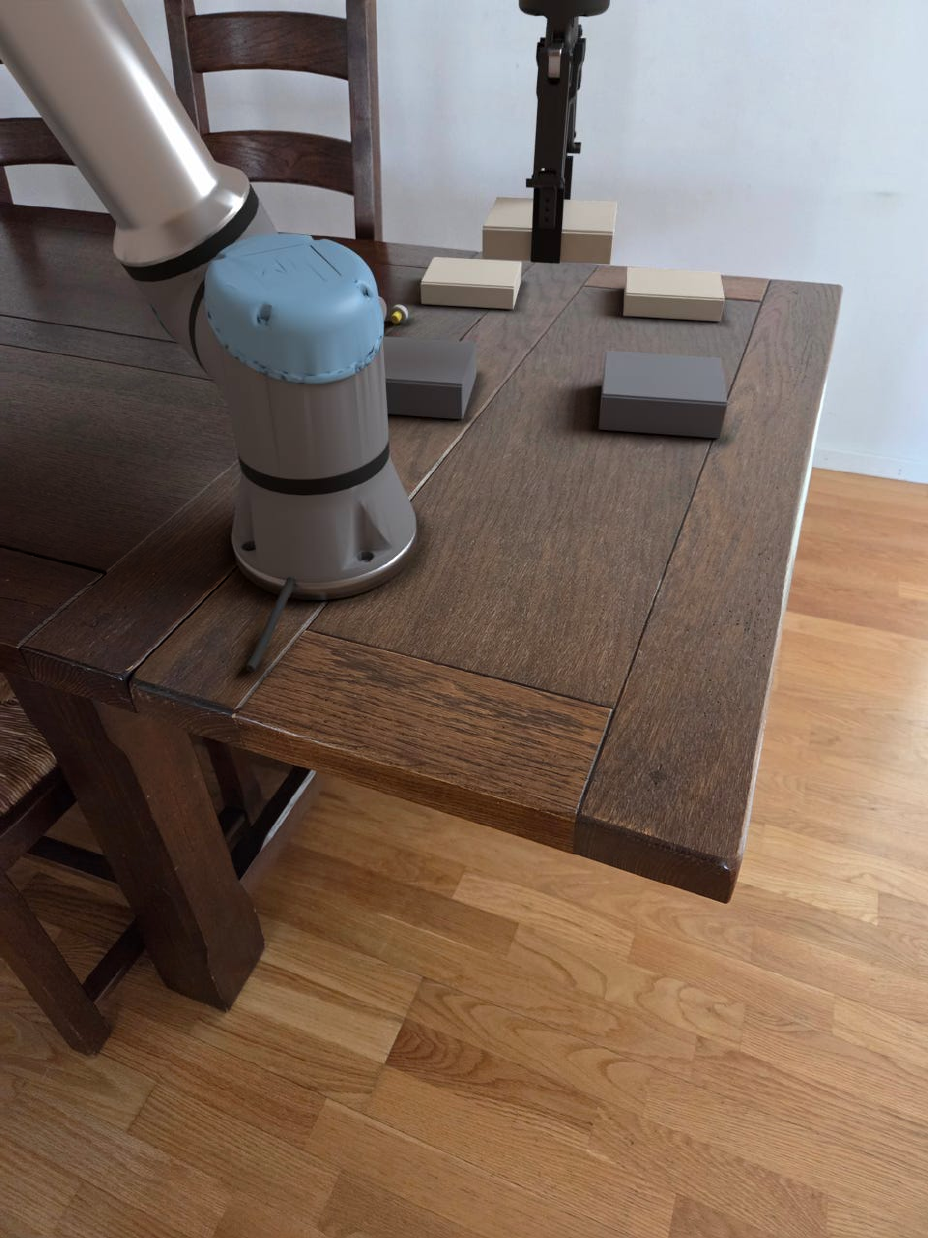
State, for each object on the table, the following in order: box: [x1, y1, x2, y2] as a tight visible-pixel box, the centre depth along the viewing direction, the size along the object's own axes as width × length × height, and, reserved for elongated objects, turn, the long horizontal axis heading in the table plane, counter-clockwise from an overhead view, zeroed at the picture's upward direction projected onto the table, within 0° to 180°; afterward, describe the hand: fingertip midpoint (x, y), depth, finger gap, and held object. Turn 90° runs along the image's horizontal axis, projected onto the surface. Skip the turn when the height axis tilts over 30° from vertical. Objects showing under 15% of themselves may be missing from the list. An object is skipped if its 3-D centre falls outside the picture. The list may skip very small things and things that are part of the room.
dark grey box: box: [598, 350, 728, 439], centre depth 89 cm, size 10×12×4 cm
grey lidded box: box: [383, 335, 478, 420], centre depth 92 cm, size 10×12×4 cm
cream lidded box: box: [622, 266, 726, 322], centre depth 110 cm, size 9×12×3 cm
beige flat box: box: [481, 196, 618, 266], centre depth 83 cm, size 9×12×3 cm
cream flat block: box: [420, 256, 523, 310], centre depth 113 cm, size 9×12×3 cm
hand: (550, 243), depth 84 cm, fingers closed on beige flat box, 9 cm apart
